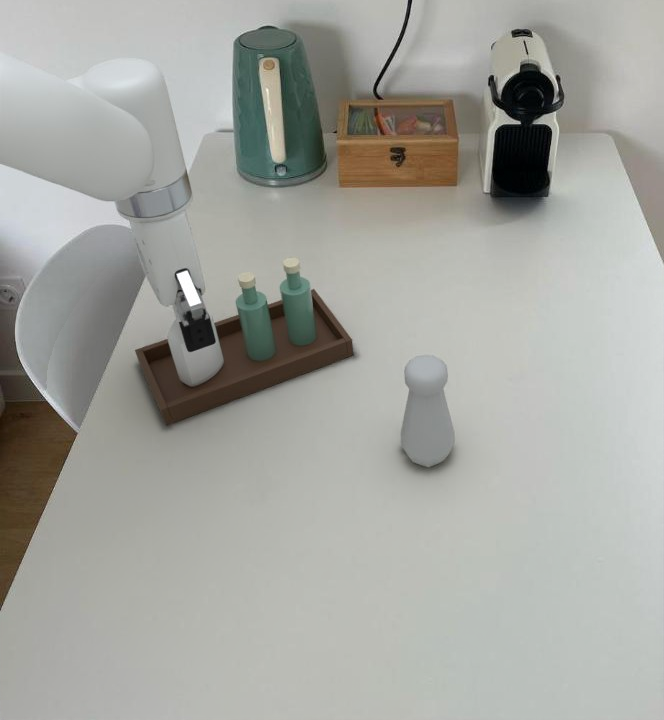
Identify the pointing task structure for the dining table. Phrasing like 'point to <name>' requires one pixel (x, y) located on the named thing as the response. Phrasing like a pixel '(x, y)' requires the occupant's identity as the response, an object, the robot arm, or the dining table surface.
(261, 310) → the green bottle
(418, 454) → the salt shaker
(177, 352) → the white plastic bottle
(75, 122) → the robot arm
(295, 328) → the green bottle
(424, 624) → the dining table surface
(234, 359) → the tray
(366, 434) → the dining table surface
